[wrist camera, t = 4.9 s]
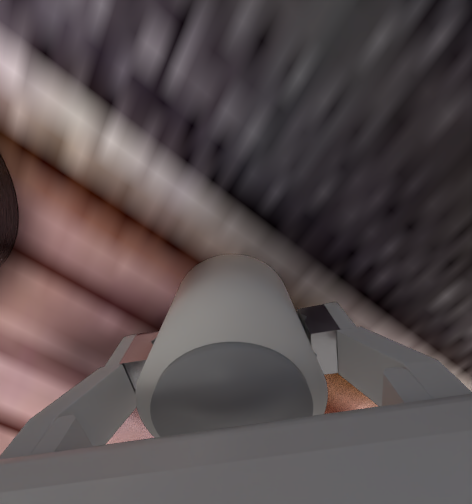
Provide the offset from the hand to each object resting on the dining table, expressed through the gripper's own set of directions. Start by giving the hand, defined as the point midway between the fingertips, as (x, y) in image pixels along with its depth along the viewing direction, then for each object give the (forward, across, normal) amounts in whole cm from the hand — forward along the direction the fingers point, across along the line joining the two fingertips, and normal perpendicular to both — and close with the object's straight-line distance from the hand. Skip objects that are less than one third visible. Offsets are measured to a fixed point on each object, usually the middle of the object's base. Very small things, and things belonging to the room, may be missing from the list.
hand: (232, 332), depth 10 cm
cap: (+2, 0, 0) cm, 2 cm away
